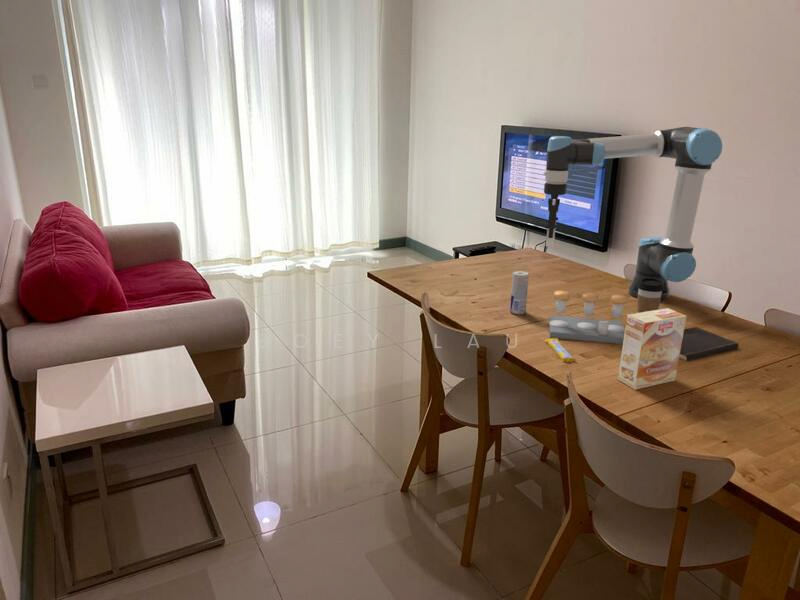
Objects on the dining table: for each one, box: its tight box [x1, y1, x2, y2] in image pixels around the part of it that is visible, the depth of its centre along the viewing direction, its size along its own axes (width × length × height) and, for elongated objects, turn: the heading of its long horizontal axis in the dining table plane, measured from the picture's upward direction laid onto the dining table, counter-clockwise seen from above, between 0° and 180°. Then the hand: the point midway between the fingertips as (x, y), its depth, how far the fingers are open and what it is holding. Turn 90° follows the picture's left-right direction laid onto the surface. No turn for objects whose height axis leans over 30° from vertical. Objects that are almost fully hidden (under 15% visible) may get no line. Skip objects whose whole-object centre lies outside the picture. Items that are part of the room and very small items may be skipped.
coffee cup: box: [636, 278, 664, 313], centre depth 213 cm, size 8×8×15 cm
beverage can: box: [509, 270, 529, 315], centre depth 221 cm, size 6×6×15 cm
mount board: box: [548, 314, 625, 345], centre depth 205 cm, size 24×16×2 cm, turn 78°
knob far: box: [553, 290, 571, 314], centre depth 204 cm, size 5×5×7 cm
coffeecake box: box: [617, 307, 687, 391], centre depth 168 cm, size 15×7×20 cm, turn 114°
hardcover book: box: [679, 326, 739, 362], centre depth 195 cm, size 16×23×2 cm
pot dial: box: [598, 321, 609, 336], centre depth 198 cm, size 3×3×4 cm
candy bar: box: [544, 338, 577, 363], centre depth 190 cm, size 17×4×2 cm, turn 6°
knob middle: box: [581, 292, 599, 317], centre depth 202 cm, size 5×5×7 cm
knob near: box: [610, 294, 628, 319], centre depth 201 cm, size 5×5×7 cm
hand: (550, 242), depth 220 cm, fingers open, 13 cm apart
